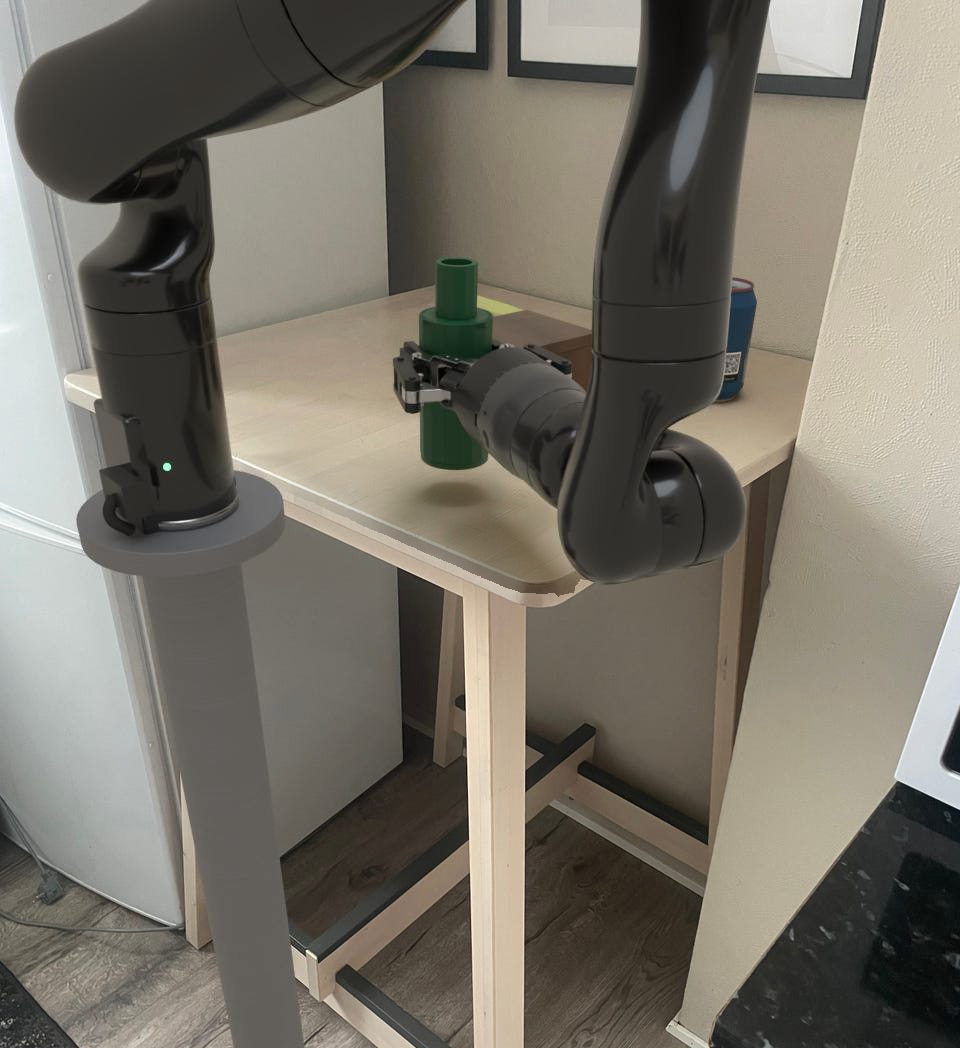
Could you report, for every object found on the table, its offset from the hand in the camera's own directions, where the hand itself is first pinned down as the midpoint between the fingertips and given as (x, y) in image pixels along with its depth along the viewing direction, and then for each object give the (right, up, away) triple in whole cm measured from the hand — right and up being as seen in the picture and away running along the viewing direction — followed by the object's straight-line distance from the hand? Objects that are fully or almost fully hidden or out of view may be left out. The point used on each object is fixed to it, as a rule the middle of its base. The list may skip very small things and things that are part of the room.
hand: (444, 350), depth 81 cm
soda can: (+29, +3, +28) cm, 40 cm away
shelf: (+7, +1, +24) cm, 25 cm away
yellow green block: (+7, +14, +44) cm, 47 cm away
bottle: (+1, -8, +3) cm, 9 cm away
